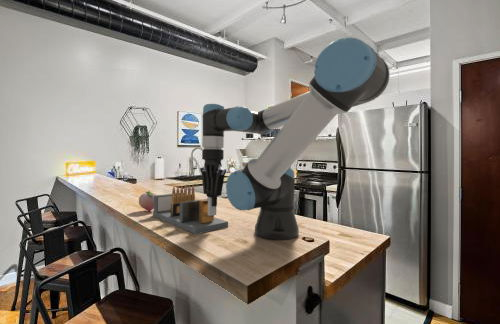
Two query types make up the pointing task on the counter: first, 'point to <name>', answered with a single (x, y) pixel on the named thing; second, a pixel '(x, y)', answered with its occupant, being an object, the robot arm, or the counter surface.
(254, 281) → the counter surface
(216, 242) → the counter surface
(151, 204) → the decorative fruit
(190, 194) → the ammunition clip
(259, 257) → the counter surface
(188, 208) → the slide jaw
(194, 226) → the vise base
